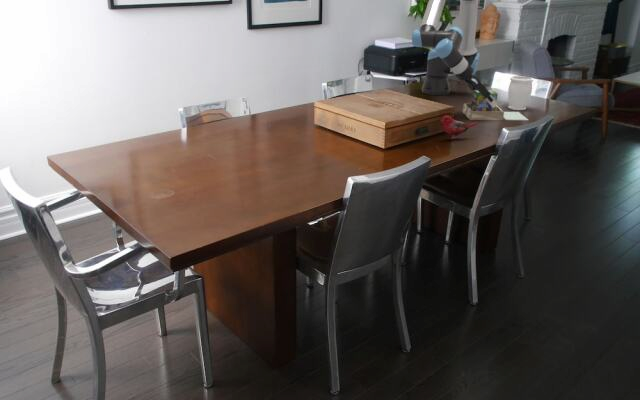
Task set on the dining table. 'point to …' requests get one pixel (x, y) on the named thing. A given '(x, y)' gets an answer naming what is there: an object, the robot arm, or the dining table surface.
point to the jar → (519, 92)
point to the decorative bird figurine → (454, 126)
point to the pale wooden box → (483, 113)
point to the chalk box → (482, 101)
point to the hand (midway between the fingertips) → (489, 102)
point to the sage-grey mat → (514, 116)
